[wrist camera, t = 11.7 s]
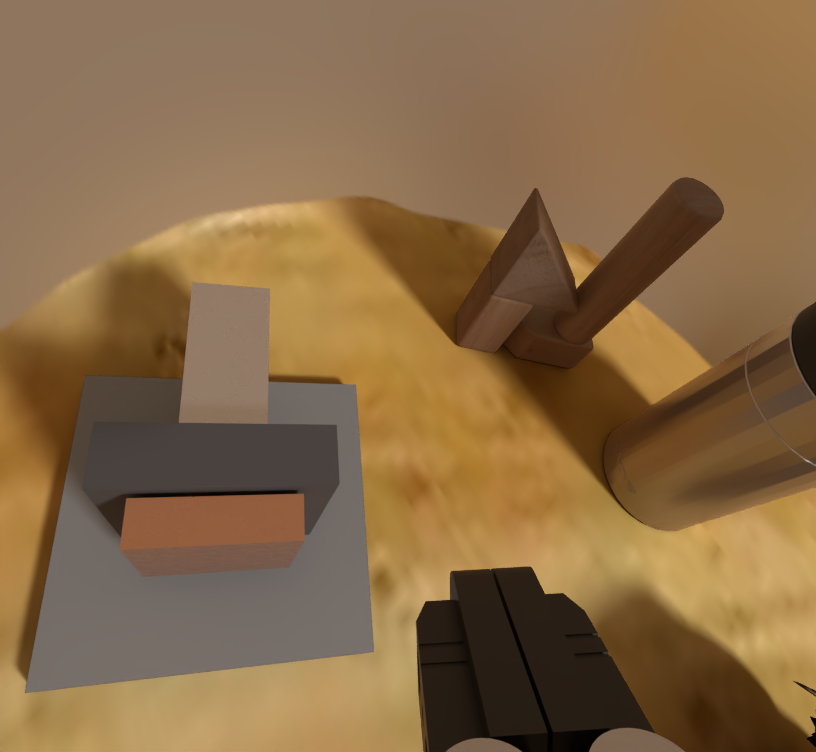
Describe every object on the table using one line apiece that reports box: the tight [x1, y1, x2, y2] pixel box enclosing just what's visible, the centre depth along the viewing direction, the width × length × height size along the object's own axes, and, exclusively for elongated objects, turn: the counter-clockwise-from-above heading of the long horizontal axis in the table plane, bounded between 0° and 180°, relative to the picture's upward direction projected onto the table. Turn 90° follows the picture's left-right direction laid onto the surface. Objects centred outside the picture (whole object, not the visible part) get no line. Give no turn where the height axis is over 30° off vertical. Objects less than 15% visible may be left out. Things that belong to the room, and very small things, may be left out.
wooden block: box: [456, 177, 724, 368], centre depth 39 cm, size 4×11×18 cm, turn 87°
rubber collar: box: [82, 422, 340, 537], centre depth 27 cm, size 10×3×10 cm, turn 96°
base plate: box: [25, 375, 374, 693], centre depth 32 cm, size 17×17×2 cm
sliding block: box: [119, 282, 305, 577], centre depth 28 cm, size 7×14×7 cm, turn 6°
